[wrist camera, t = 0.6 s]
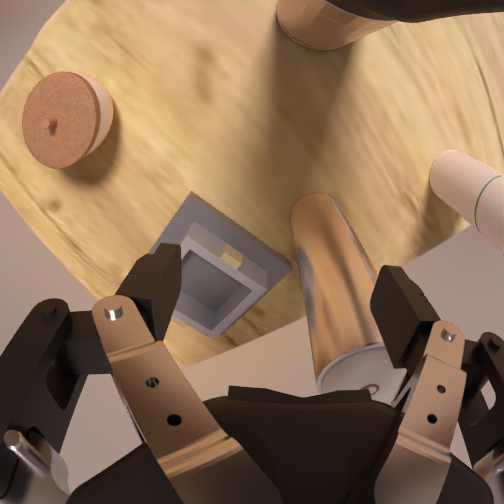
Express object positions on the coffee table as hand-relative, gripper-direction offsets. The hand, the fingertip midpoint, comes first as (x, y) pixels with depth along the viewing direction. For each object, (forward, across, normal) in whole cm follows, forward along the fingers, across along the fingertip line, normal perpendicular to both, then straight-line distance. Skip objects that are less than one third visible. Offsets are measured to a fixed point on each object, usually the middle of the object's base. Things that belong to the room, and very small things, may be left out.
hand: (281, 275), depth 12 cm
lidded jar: (+25, +22, -5) cm, 34 cm away
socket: (+26, +6, +16) cm, 31 cm away
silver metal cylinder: (+26, -7, +7) cm, 27 cm away
